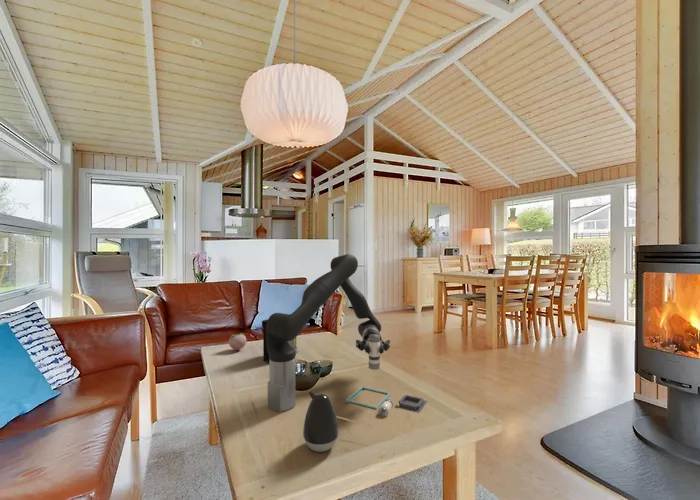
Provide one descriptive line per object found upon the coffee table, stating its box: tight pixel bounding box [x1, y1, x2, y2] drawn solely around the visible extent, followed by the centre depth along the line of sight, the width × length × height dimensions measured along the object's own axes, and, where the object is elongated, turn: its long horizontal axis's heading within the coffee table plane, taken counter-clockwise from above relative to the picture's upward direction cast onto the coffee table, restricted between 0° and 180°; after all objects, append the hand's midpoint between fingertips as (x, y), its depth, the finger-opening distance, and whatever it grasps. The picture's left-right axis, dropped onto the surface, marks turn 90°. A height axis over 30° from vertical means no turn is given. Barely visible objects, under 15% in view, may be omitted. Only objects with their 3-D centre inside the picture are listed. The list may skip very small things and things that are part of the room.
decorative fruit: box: [228, 332, 247, 351], centre depth 187 cm, size 9×8×10 cm
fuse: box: [377, 398, 394, 417], centre depth 119 cm, size 8×3×3 cm, turn 159°
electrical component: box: [260, 318, 299, 363], centre depth 177 cm, size 18×10×20 cm, turn 148°
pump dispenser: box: [302, 391, 339, 453], centre depth 100 cm, size 10×10×15 cm
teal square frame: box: [344, 386, 392, 410], centre depth 129 cm, size 14×13×2 cm
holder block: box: [394, 393, 428, 414], centre depth 124 cm, size 10×9×2 cm
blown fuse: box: [368, 334, 381, 371], centre depth 127 cm, size 4×4×12 cm
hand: (374, 351), depth 125 cm, fingers closed on blown fuse, 4 cm apart
